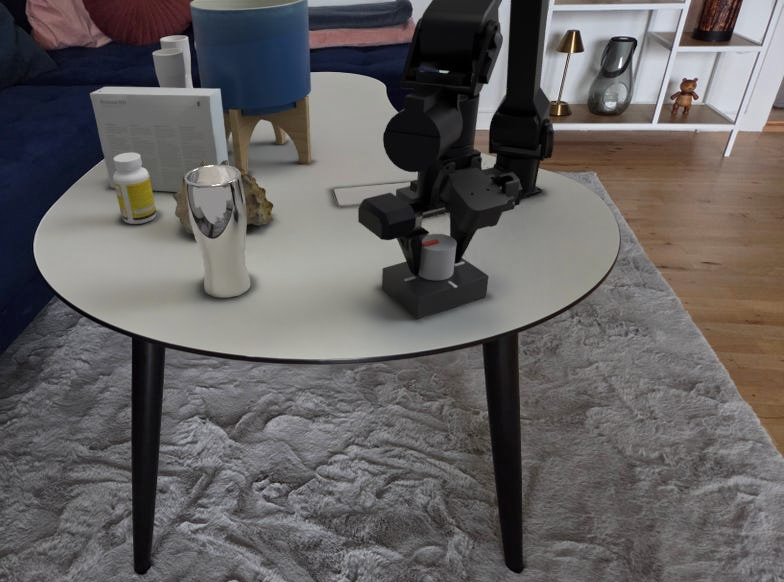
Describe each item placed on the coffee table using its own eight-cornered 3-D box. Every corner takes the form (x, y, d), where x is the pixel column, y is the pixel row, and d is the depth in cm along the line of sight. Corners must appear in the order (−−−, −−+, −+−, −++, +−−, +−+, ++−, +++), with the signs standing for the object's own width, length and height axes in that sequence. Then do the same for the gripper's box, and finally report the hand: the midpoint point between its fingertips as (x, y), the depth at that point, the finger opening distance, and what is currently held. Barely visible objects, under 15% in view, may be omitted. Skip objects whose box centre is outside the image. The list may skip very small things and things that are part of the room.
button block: (452, 187, 104) (454, 164, 102) (479, 203, 99) (482, 178, 97) (395, 202, 101) (396, 178, 99) (420, 218, 96) (422, 193, 93)
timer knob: (439, 259, 80) (442, 228, 77) (460, 274, 76) (464, 242, 74) (409, 268, 78) (411, 236, 76) (430, 284, 75) (432, 251, 72)
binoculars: (196, 155, 122) (181, 54, 111) (168, 157, 122) (150, 56, 111) (202, 127, 136) (189, 34, 125) (176, 128, 136) (161, 36, 125)
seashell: (174, 228, 100) (156, 168, 93) (259, 200, 103) (248, 140, 97) (194, 260, 92) (175, 197, 85) (285, 229, 95) (274, 165, 89)
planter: (192, 171, 116) (167, 8, 100) (240, 137, 130) (224, -11, 113) (289, 182, 109) (278, 10, 93) (328, 145, 123) (324, -10, 107)
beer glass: (202, 274, 85) (184, 166, 76) (253, 270, 86) (242, 161, 76) (199, 302, 80) (180, 188, 71) (254, 297, 80) (242, 183, 71)
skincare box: (233, 183, 110) (221, 87, 100) (222, 196, 106) (209, 97, 96) (124, 176, 115) (103, 84, 105) (109, 188, 111) (86, 93, 101)
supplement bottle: (163, 212, 102) (151, 152, 96) (146, 226, 98) (132, 164, 92) (134, 209, 103) (120, 149, 98) (116, 223, 99) (101, 162, 94)
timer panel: (445, 268, 84) (447, 246, 82) (487, 298, 78) (490, 275, 76) (380, 287, 81) (381, 265, 79) (418, 320, 74) (420, 298, 72)
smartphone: (331, 188, 106) (419, 180, 107) (331, 192, 107) (419, 184, 107) (337, 206, 100) (430, 198, 101) (337, 210, 101) (430, 202, 101)
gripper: (414, 182, 59) (406, 321, 68) (569, 144, 65) (541, 277, 74) (356, 147, 67) (355, 276, 76) (498, 116, 73) (481, 240, 82)
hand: (435, 268), depth 77 cm, fingers open, 6 cm apart
